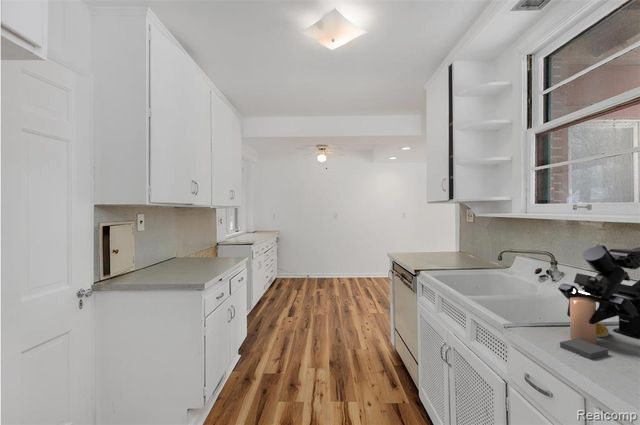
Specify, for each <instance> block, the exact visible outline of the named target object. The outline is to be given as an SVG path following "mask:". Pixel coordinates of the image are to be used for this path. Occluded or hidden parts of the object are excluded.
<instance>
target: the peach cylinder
mask: <svg viewBox="0 0 640 425" xmlns="http://www.w3.org/2000/svg"><path fill="white" fill-rule="evenodd" d="M596 310H597V302H595V301H593V300H590V299H586V298H579V297H572V298H570V317H569V320H570V321H569V325H570V326H569V328H570V330H569V332H570V334H569V335H570V340H572V339H576V338H578V339H581V340H584V341H586V342H589V343H592V344H595V345H597V337H596V323H595V324H590V323H589V321H590V319H591V317H592V316H593V314H594V313H595V312H596Z"/></svg>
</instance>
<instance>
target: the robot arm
mask: <svg viewBox="0 0 640 425" xmlns="http://www.w3.org/2000/svg"><path fill="white" fill-rule="evenodd" d="M582 258H583V259H584V260H585V261H586V263H587V264H588V265H589V266H590V267H591V269H592V270H594V271H595V272H597V274H596V275H595V276H592V275H589V274H584V273H577V272H576V274H575V278H574V280H573V283H574V284H577V285H579V286H580V289H581V290H583V291H580V290H579V289H578V288H577V287H576V285H573V284H568V283H560V285H559V286H558V288H557V290H559V291H560V292H561V294H562V295H563V296H564V297H565V298H566V299H567V300H568V306H567V316H568V317H569V318H570V298H572V297H579V298H586V299H590V300H593V301H595V302H596V303H598V307H597V308H596V312H595V313H594V314H593V316H592V317H591V319H590V321H589V323H590V324H595V323H600V322H603V321H604V320H608V319H611V318H615V317H618V327H615V328H613V329H612V331H613V332H616V333H620V334H622V335H625V336H629V337H632V338H635V339H640V279H639V280H637V281H636V282H635V283H633V284H632V285H629V284H624V283H622V282H623V281H628V282H630V281H631V277H630V275H629V274H628V273H629V272H628V271H625V269H628V270H637V269H639V268H640V246H638V247H635V248H629V249H627V248H610V249H609V250H608V248H607V247H606V246H605V244H596V245H595V246H594V247H590V248H588V249H586V250H584V251H583V252H582Z"/></svg>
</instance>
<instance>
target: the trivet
mask: <svg viewBox="0 0 640 425" xmlns="http://www.w3.org/2000/svg"><path fill="white" fill-rule="evenodd" d="M559 347H560V348H562V349H564V350H566V351H568V352H571V353H573V354H576V355H579V356H581V357H583V358H586V359H588V360H593V359H596V358H600V357H605V356H608V355H609V349H608V348H606V347H603V346H600V345H597V344H592V343H589V342H586V341H584V340H581V339H578V338H576V339H567V340H564V341H560V342H559Z"/></svg>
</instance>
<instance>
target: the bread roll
mask: <svg viewBox="0 0 640 425" xmlns="http://www.w3.org/2000/svg"><path fill="white" fill-rule="evenodd" d="M609 333H610V331H609V329H608V327H607V326H606V325H605V324H603V323H600V322H598V323H596V338H604V337H609Z"/></svg>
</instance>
